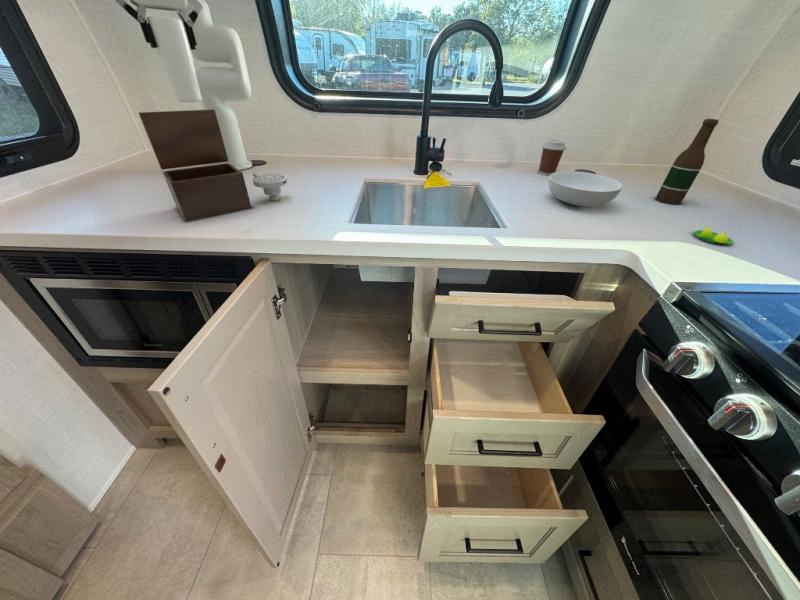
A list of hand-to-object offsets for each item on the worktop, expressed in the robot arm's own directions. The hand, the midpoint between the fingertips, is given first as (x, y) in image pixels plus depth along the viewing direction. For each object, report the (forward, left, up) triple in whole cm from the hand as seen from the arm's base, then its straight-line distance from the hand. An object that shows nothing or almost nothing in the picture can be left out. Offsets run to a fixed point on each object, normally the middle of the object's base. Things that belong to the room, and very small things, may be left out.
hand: (173, 47), depth 70 cm
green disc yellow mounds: (+95, +93, -36) cm, 138 cm away
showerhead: (+4, +13, -36) cm, 38 cm away
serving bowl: (+60, +92, -36) cm, 116 cm away
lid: (-4, -3, -19) cm, 19 cm away
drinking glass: (0, 0, -10) cm, 10 cm away
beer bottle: (+78, +119, -36) cm, 147 cm away
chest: (+2, -3, -36) cm, 36 cm away
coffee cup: (+35, +116, -36) cm, 127 cm away
